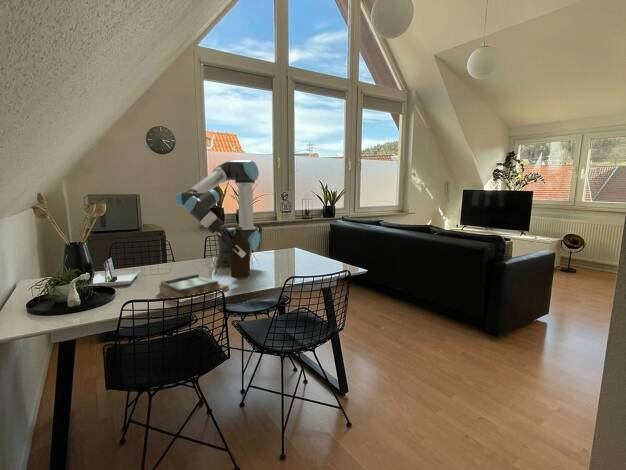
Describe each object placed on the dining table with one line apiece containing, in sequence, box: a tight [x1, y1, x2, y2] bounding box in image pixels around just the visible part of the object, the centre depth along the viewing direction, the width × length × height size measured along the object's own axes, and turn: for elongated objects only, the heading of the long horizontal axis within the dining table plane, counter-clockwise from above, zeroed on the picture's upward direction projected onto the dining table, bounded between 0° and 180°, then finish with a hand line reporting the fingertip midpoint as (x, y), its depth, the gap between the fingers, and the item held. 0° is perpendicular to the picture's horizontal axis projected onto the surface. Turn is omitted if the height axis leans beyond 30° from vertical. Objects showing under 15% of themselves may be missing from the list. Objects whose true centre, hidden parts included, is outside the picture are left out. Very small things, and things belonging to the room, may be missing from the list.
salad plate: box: [92, 269, 141, 287], centre depth 181 cm, size 21×21×3 cm
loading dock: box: [158, 273, 230, 298], centre depth 165 cm, size 25×20×6 cm
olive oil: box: [228, 226, 251, 279], centre depth 171 cm, size 11×11×25 cm
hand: (245, 253), depth 171 cm, fingers closed on olive oil, 10 cm apart
